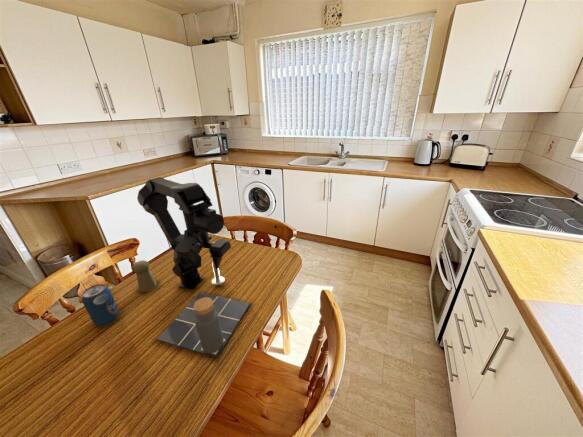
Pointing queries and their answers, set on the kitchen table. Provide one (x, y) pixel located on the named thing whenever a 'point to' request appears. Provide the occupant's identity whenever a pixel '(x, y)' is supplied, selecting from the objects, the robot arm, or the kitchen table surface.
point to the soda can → (100, 305)
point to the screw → (217, 276)
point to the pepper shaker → (144, 276)
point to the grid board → (186, 331)
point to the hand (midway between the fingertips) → (205, 266)
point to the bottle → (208, 325)
